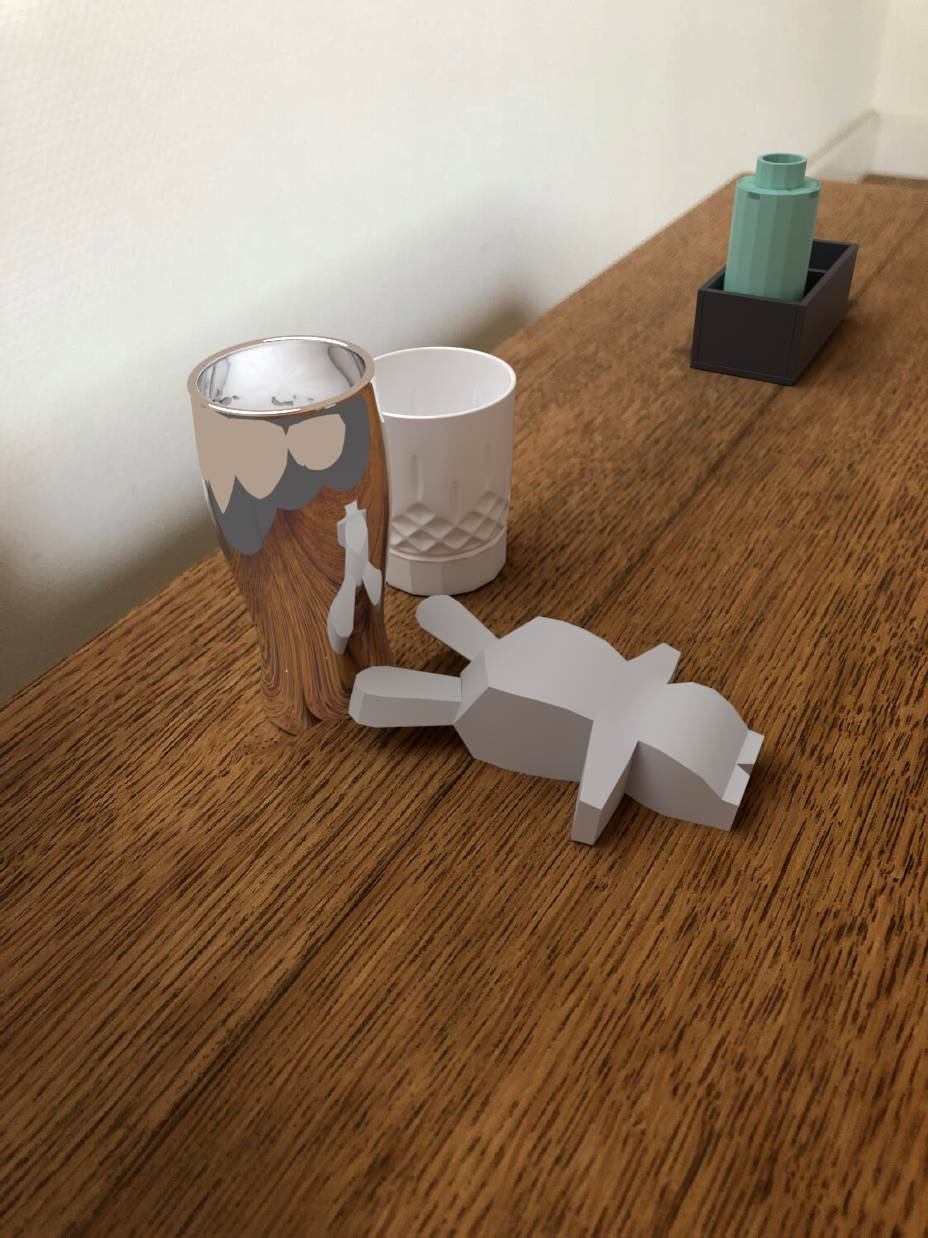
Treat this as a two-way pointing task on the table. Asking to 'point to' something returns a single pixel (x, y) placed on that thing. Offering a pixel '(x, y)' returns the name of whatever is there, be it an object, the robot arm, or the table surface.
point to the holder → (773, 320)
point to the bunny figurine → (574, 717)
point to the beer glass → (300, 511)
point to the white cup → (447, 466)
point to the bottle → (773, 229)
